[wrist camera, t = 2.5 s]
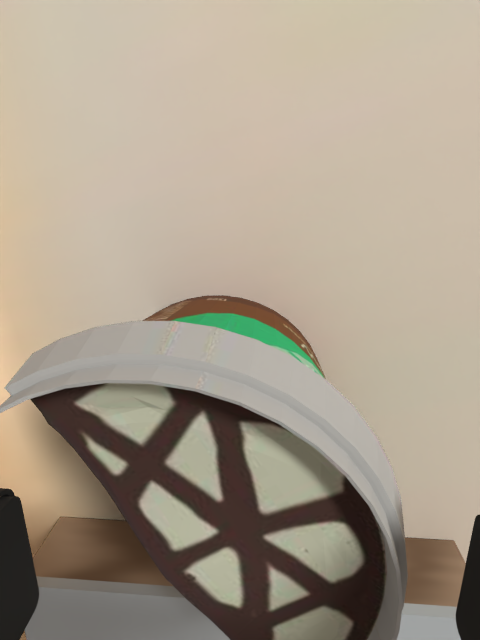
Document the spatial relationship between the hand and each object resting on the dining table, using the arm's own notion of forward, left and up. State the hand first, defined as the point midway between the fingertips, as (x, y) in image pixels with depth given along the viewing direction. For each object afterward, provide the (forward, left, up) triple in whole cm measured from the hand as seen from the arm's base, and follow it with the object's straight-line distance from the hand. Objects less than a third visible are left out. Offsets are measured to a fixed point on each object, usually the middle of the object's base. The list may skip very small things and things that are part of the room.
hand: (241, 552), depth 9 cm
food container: (-1, 0, -11) cm, 11 cm away
